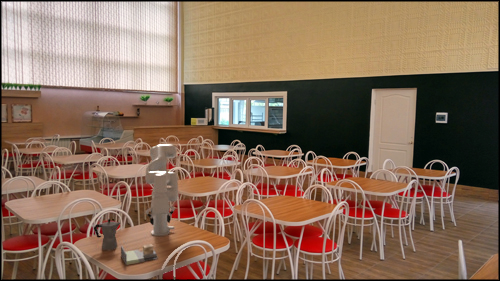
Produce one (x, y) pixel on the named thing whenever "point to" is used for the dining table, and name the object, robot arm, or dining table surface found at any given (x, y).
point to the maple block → (148, 249)
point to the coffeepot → (108, 234)
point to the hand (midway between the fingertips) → (160, 223)
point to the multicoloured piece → (137, 256)
